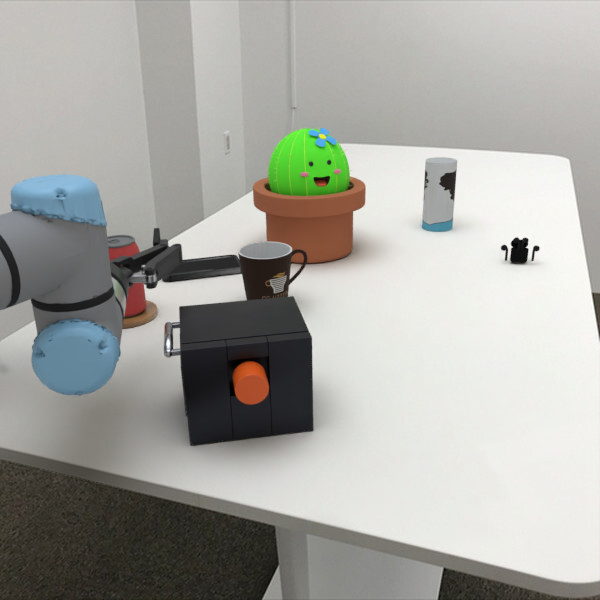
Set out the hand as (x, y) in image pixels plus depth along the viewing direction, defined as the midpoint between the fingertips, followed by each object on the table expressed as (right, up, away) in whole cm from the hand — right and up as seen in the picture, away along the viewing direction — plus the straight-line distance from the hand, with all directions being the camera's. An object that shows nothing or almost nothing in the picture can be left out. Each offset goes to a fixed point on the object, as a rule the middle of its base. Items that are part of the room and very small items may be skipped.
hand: (108, 240), depth 91 cm
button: (+22, -19, -21) cm, 36 cm away
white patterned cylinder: (+58, +8, +55) cm, 80 cm away
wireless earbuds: (+69, -1, +33) cm, 76 cm away
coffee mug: (+23, -10, +16) cm, 30 cm away
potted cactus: (+29, +2, +42) cm, 51 cm away
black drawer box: (+21, -22, -13) cm, 33 cm away
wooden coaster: (-1, -11, +14) cm, 18 cm away
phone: (+8, -3, +32) cm, 33 cm away
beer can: (-1, -10, +14) cm, 17 cm away
